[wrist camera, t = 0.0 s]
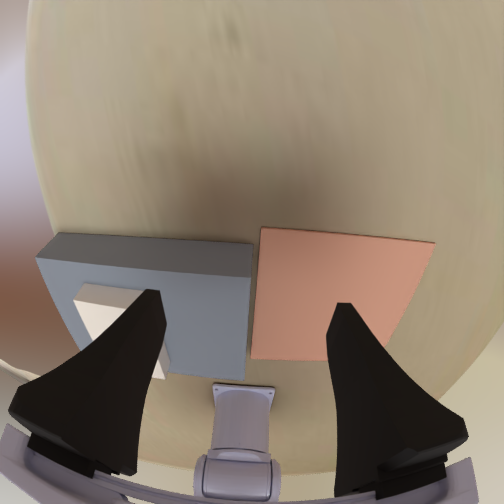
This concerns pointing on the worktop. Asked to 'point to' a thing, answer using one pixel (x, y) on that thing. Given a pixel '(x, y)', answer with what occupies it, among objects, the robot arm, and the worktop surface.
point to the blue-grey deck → (163, 292)
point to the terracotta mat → (329, 287)
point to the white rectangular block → (111, 314)
